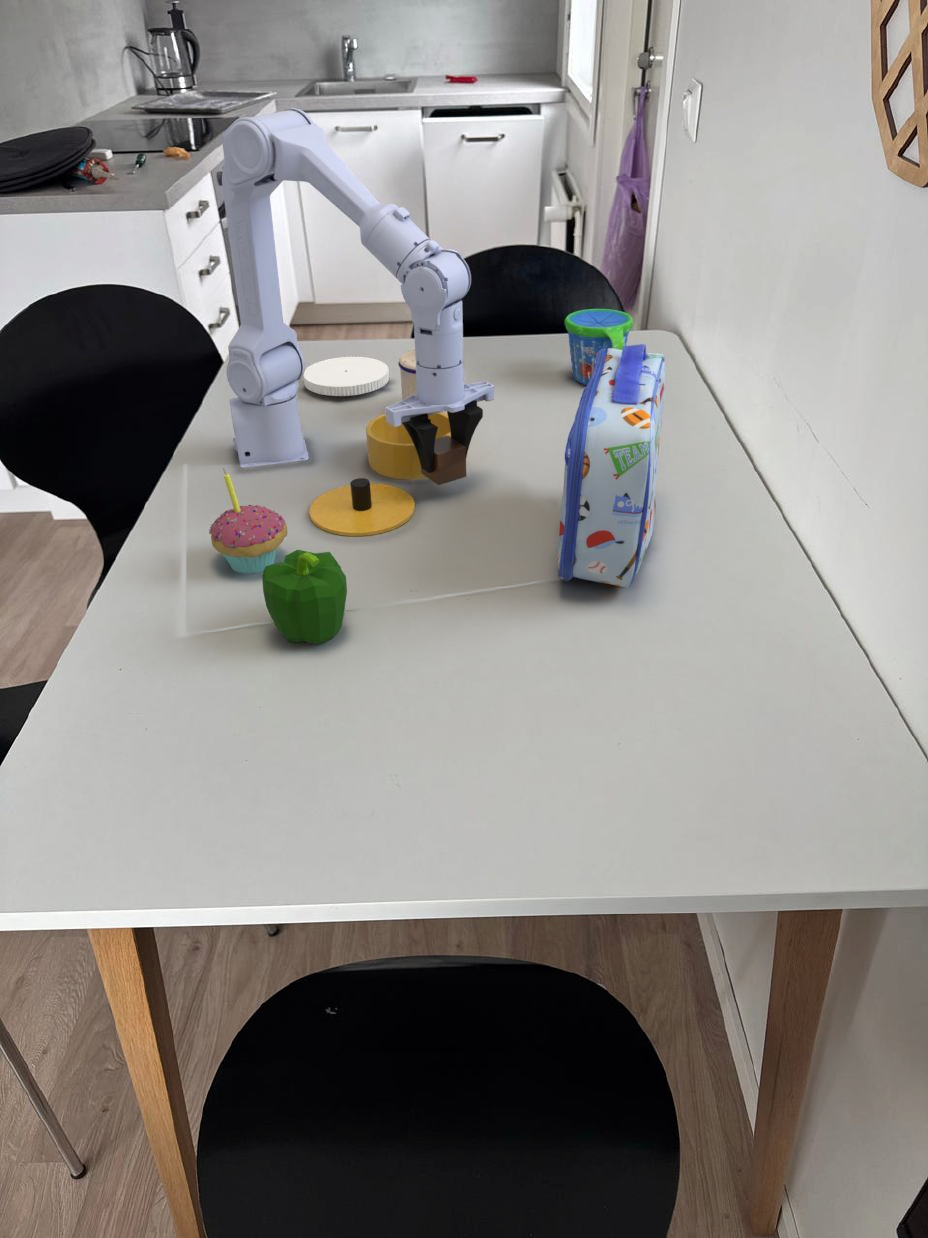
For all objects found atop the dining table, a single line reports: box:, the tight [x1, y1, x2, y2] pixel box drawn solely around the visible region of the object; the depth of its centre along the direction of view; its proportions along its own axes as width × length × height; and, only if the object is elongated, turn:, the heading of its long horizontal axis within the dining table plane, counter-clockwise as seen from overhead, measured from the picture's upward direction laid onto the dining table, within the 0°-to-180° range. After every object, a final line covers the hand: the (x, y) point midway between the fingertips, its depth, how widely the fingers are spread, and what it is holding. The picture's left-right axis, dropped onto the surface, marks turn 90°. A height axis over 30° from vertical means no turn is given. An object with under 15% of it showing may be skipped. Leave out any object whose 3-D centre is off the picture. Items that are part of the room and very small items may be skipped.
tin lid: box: [309, 477, 416, 537], centre depth 118 cm, size 13×13×4 cm
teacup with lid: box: [398, 348, 448, 415], centre depth 143 cm, size 12×9×12 cm
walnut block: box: [421, 436, 467, 486], centre depth 120 cm, size 4×4×4 cm
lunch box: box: [557, 343, 666, 589], centre depth 106 cm, size 28×10×22 cm, turn 168°
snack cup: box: [564, 308, 634, 386], centre depth 153 cm, size 16×10×10 cm
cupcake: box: [208, 467, 288, 575], centre depth 106 cm, size 9×8×12 cm
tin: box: [365, 412, 451, 480], centre depth 130 cm, size 12×12×5 cm
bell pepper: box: [261, 549, 348, 645], centre depth 96 cm, size 8×8×10 cm
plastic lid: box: [302, 356, 390, 397], centre depth 156 cm, size 14×14×2 cm
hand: (443, 465), depth 120 cm, fingers closed on walnut block, 4 cm apart
